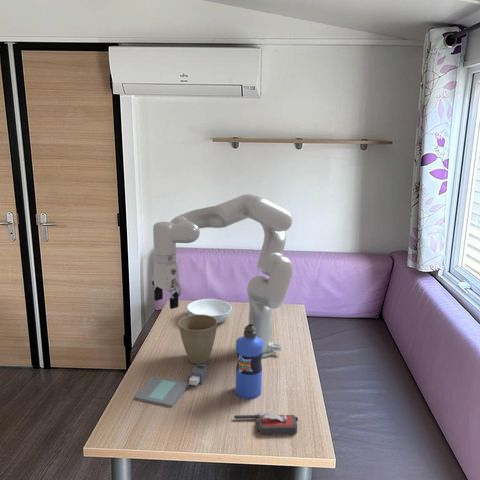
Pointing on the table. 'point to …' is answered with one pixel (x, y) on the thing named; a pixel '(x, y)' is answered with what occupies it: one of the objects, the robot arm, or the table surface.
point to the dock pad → (162, 391)
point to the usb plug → (198, 374)
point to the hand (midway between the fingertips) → (166, 303)
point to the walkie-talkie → (273, 423)
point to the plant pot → (198, 336)
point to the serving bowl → (210, 308)
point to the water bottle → (249, 364)
